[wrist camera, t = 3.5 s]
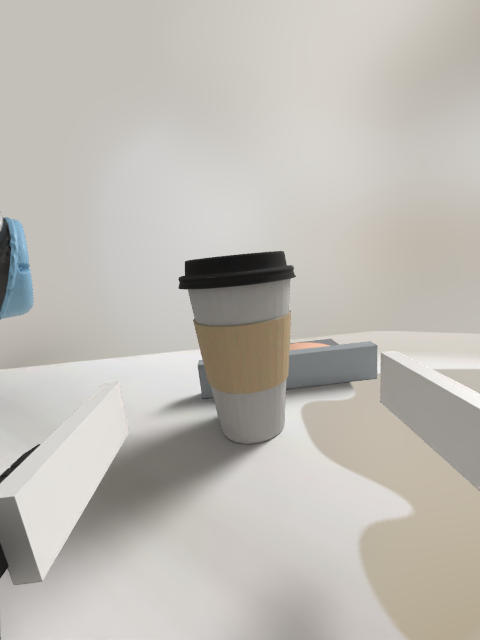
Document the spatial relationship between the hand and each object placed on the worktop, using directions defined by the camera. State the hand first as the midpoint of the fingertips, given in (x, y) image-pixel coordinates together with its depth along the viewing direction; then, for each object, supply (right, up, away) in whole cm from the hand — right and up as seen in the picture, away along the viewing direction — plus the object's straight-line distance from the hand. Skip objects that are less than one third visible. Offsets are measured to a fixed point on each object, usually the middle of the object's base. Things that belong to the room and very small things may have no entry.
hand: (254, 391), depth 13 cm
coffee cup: (0, -6, +11) cm, 13 cm away
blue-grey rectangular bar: (+5, -4, +18) cm, 19 cm away
